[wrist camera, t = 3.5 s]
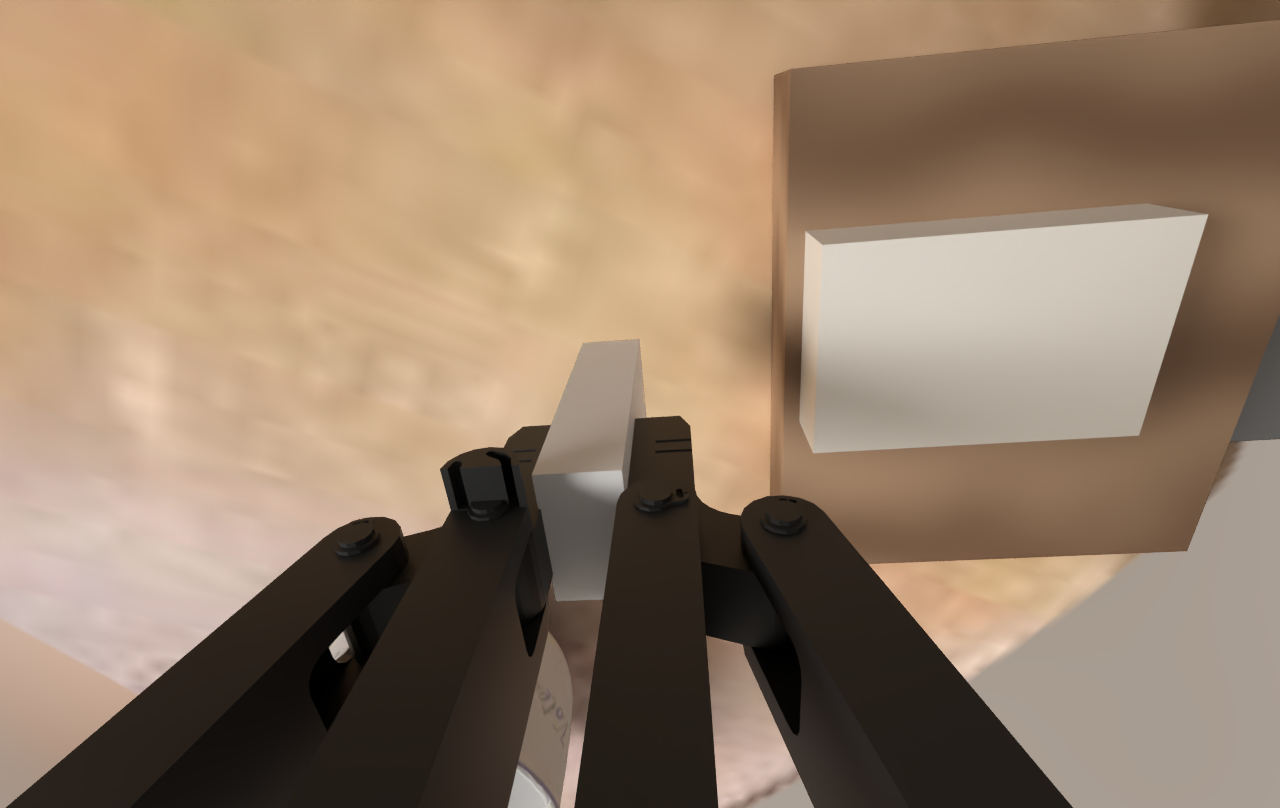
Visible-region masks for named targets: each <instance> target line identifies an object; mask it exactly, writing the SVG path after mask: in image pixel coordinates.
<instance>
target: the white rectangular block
mask: <svg viewBox="0 0 1280 808" xmlns="http://www.w3.org/2000/svg"><path fill="white" fill-rule="evenodd" d="M1207 217H1208V214H1204V213H1198V212H1193V211H1187V210H1181V209H1176V208H1170V207H1165V206H1159V205H1153V204H1148V203H1145V204H1133V205H1121V206H1108V207H1096V208H1084V209H1071V210H1059V211H1047V212H1034V213H1022V214H1010V215H998V216H985V217H973V218H961V219H948V220H936V221H924V222H911V223H899V224H887V225H874V226H862V227H850V228H838V229H825V230H813V231H805V262H804V293H803V324H802V355H801V386H800V417H799V422H800V424H801V427H802V429H803V431H804V433H805V436H806V438H807V440H808V443H809V445H810V447H811V449H812V452H813V453H828V452H847V451H865V450H883V449H902V448H920V447H939V446H957V445H976V444H994V443H1013V442H1031V441H1049V440H1068V439H1086V438H1105V437H1123V436H1139V434H1140V431H1141V428H1142V424H1143V421H1144V418H1145V415H1146V412H1147V409H1148V405H1149V402H1150V399H1151V396H1152V393H1153V389H1154V386H1155V383H1156V380H1157V377H1158V374H1159V370H1160V367H1161V364H1162V361H1163V358H1164V354H1165V351H1166V348H1167V345H1168V342H1169V338H1170V335H1171V332H1172V329H1173V326H1174V323H1175V319H1176V316H1177V313H1178V310H1179V307H1180V303H1181V300H1182V297H1183V294H1184V291H1185V288H1186V284H1187V281H1188V278H1189V275H1190V272H1191V268H1192V265H1193V262H1194V259H1195V256H1196V252H1197V249H1198V246H1199V243H1200V240H1201V237H1202V233H1203V230H1204V227H1205V224H1206V221H1207Z"/></svg>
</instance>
